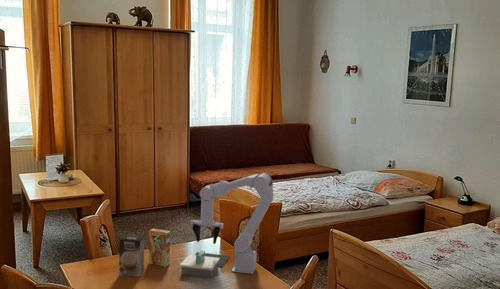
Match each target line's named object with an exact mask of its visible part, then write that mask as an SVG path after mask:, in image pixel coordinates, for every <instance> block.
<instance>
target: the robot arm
mask: <svg viewBox="0 0 500 289" xmlns="http://www.w3.org/2000/svg"><path fill="white" fill-rule="evenodd" d="M273 186H274V181H273V179H272V177H271V175H270V174H269V173H267V172H262V173H261V172H260V173H256V174H252V175H249V176H248V175H247V176H245V177H242V178H239V179H236V180H233V181H227V180H223V179H222V180H221V179H220V180H219V182H217V183H209V184H207V185H206V186H204V187H202V188H201V190H200V191H199V197H200V202H201V203H200V219H191V220H190V226H192V227H191V228H192V231H193V233H194V235H195V239H196V242H197V243H199V242H200V241H201V227H207V228H208V227H209V228H213V229H212V232H213V238H212V239H213V240H212V243H213V244H214V245H215V244H216V243H217V239H218V236H219V233H220V232H221V230H222V229H224V223H223V222H218V221H215V219H214V218H215V198H217V197H220V196H224V195H228V194H230V192H231V190H235V189H239V188H243V187H249V188H250V189H252V188H253V189H254V190H255V192H257V194H258V195H259V198H260V200H259V202H258V204H257V205H256V208H255V209H254V211H253V213H252V215H251V216H250V218H249V220H248V222H247V224H246V226H245V227H244V229H243V231H242V232H241V233H240V235H239V236H238V237H237V239H235V241H234V243H233V247H234V266H233V268H231V269H232V270H231V272H234V273H241V274H249V273H250V274H249V275H253V274H254V272H255V271H256V269H257V257H258V256H257V251H256V250H253V249H252V246H251V245H252V243H253V242H254V240H253V239H254V235H255V234H256V231H257V230H258V227H259V225H260V224H261V222H262V221H263V218H264V217H265V215H266V213H267V211H268V209H269V208H270V205H271V204H272V202H273V200H274V187H273Z"/></svg>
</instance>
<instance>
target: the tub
mask: <svg viewBox="0 0 500 289" xmlns="http://www.w3.org/2000/svg"><path fill="white" fill-rule="evenodd" d="M180 268H181V272H180V273H181V274H180V275H181V276H185V277H186V276H187V277H194V278H200V279H208V280H212V278H213V276H214V275H215V274H216V272H217V271H218V269H219V267H218V263H217V264H216V266H215V267H214V268H213V270H205V269H197V268H189V267H181V266H180Z"/></svg>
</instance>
